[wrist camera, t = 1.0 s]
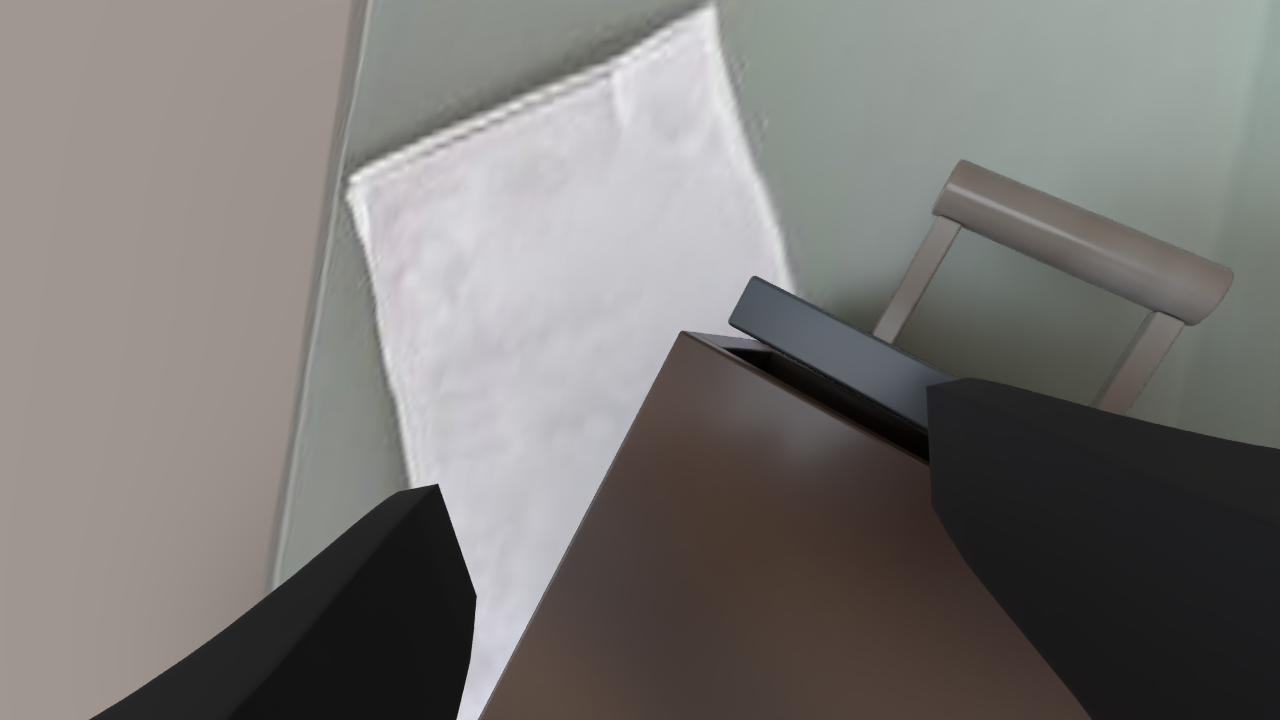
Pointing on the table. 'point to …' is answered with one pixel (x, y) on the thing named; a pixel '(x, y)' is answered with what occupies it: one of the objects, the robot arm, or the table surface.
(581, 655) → the cabinet
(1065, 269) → the drawer
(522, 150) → the table surface
